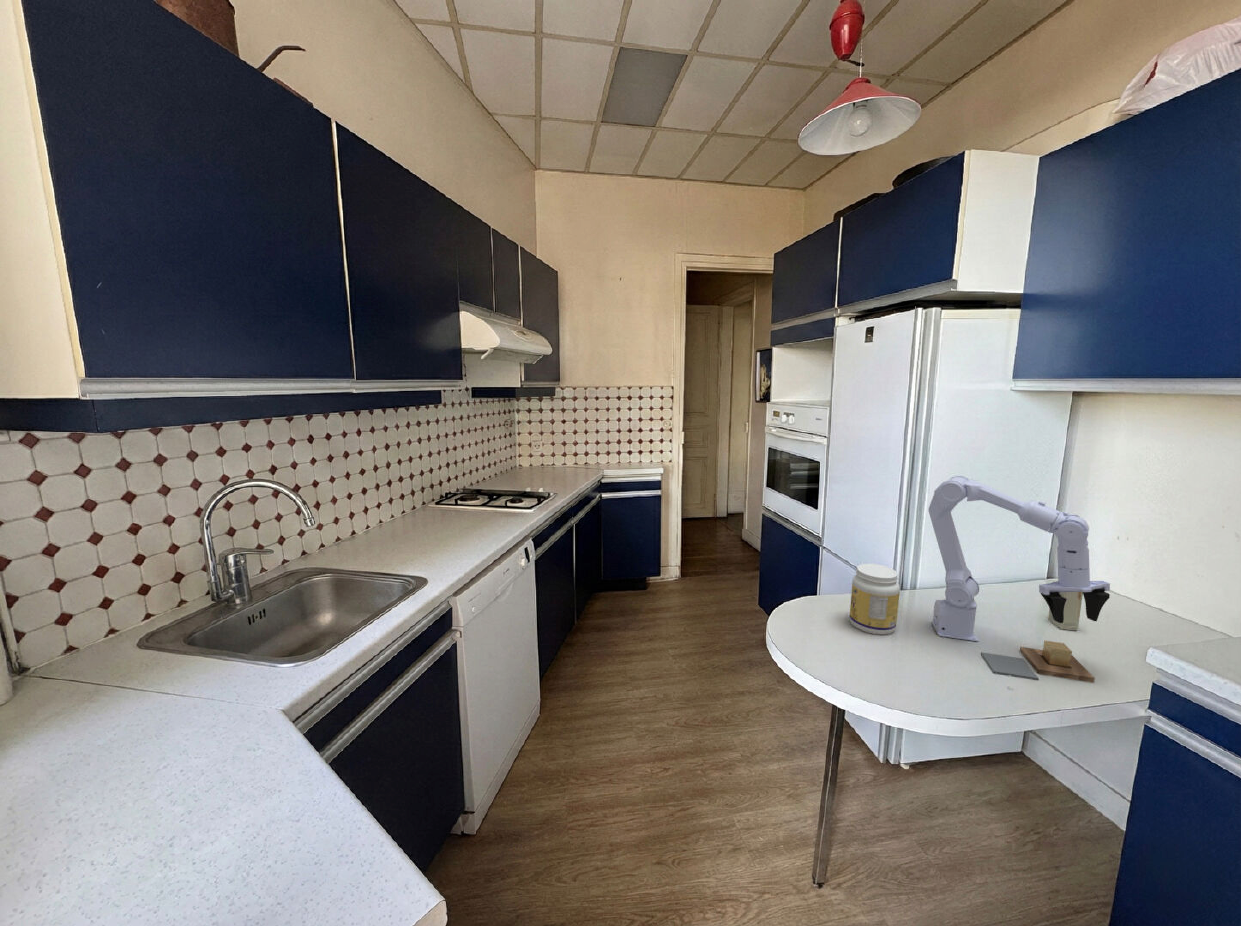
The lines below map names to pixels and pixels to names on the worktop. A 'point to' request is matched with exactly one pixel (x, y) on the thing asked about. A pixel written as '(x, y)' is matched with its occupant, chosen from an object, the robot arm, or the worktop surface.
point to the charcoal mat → (1009, 666)
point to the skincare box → (1069, 611)
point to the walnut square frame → (1042, 667)
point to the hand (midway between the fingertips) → (1075, 620)
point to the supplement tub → (875, 599)
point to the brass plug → (1056, 654)
